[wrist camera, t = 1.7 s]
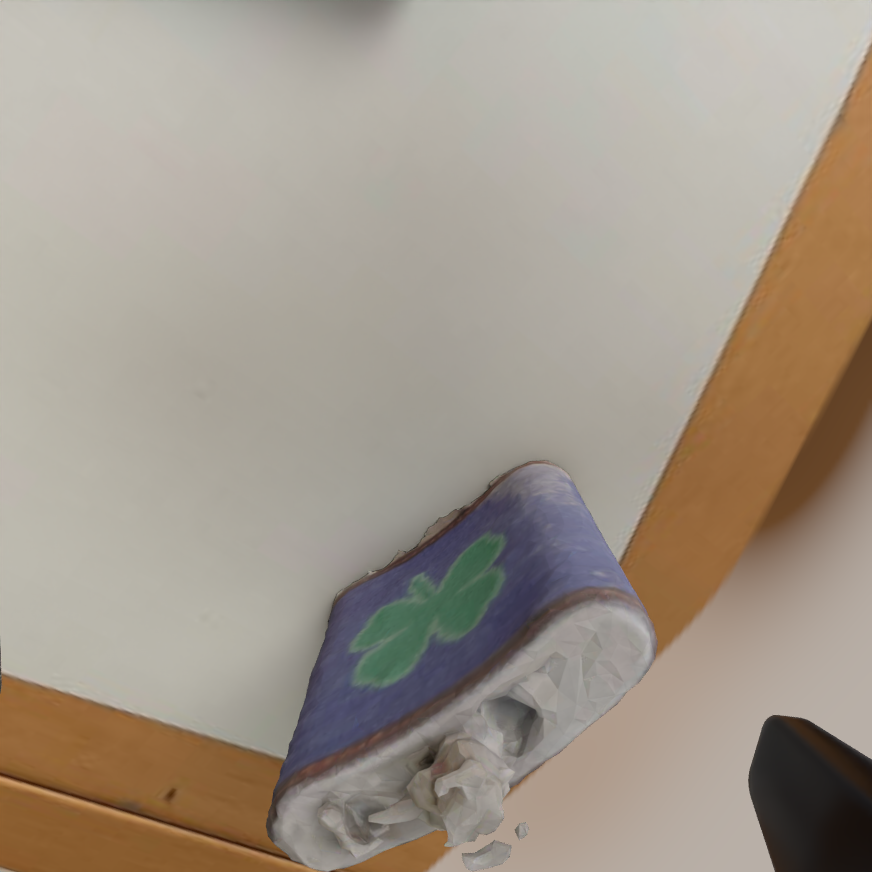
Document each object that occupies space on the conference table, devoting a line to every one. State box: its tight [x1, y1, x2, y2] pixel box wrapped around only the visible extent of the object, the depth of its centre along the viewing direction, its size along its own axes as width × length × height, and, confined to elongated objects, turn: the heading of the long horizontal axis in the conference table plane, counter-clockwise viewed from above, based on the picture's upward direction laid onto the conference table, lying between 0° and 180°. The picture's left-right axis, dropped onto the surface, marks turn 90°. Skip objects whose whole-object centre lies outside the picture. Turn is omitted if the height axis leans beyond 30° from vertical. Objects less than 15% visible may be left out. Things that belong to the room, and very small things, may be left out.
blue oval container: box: [266, 460, 658, 872], centre depth 17 cm, size 9×3×11 cm, turn 127°
